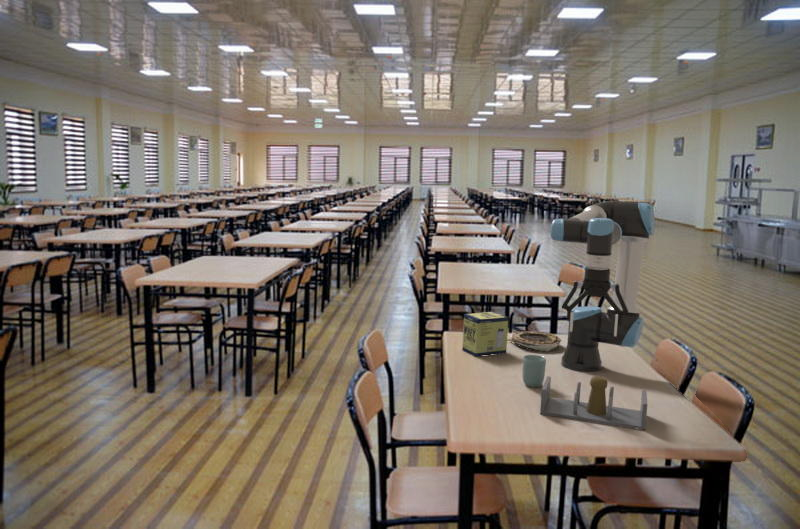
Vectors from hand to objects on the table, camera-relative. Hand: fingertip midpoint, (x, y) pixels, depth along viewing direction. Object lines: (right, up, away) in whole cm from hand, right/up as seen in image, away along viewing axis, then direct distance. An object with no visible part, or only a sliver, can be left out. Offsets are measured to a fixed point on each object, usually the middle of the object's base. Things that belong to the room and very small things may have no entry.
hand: (592, 333), depth 207 cm
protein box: (-27, -14, +60) cm, 68 cm away
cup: (-15, -21, +20) cm, 32 cm away
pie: (-3, -14, +73) cm, 74 cm away
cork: (-1, -24, -6) cm, 25 cm away
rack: (-2, -25, -6) cm, 25 cm away
